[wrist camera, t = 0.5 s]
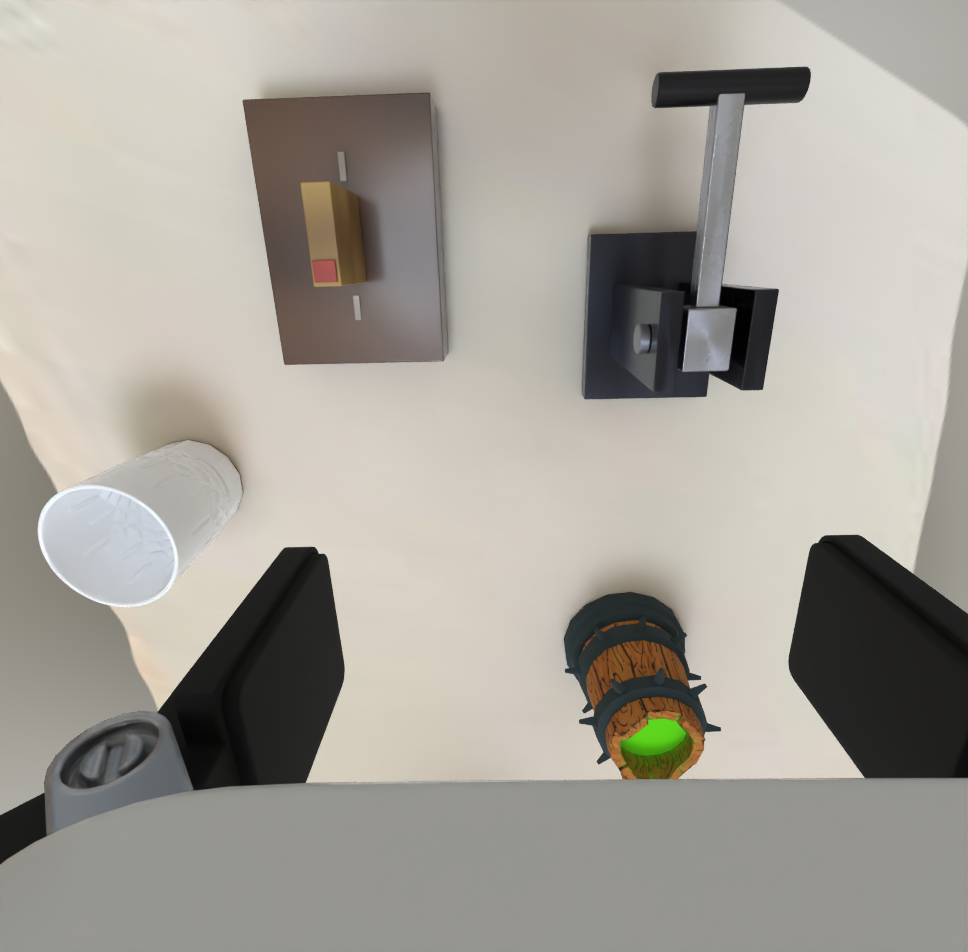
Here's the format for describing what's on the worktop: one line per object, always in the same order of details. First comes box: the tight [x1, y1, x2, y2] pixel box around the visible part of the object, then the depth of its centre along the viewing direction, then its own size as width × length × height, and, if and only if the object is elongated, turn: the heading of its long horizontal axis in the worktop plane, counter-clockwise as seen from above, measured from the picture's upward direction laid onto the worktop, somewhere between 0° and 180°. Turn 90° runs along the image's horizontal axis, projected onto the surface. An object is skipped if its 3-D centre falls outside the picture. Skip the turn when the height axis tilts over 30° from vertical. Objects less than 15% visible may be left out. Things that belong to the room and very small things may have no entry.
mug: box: [564, 592, 721, 779], centre depth 40 cm, size 13×10×12 cm
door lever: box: [652, 67, 811, 372], centre depth 24 cm, size 12×6×2 cm, turn 2°
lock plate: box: [243, 93, 448, 365], centre depth 33 cm, size 14×10×3 cm
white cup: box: [38, 440, 243, 607], centre depth 36 cm, size 8×8×10 cm
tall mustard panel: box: [300, 181, 366, 287], centre depth 29 cm, size 5×1×6 cm, turn 1°
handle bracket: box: [582, 231, 779, 399], centre depth 30 cm, size 10×8×12 cm
